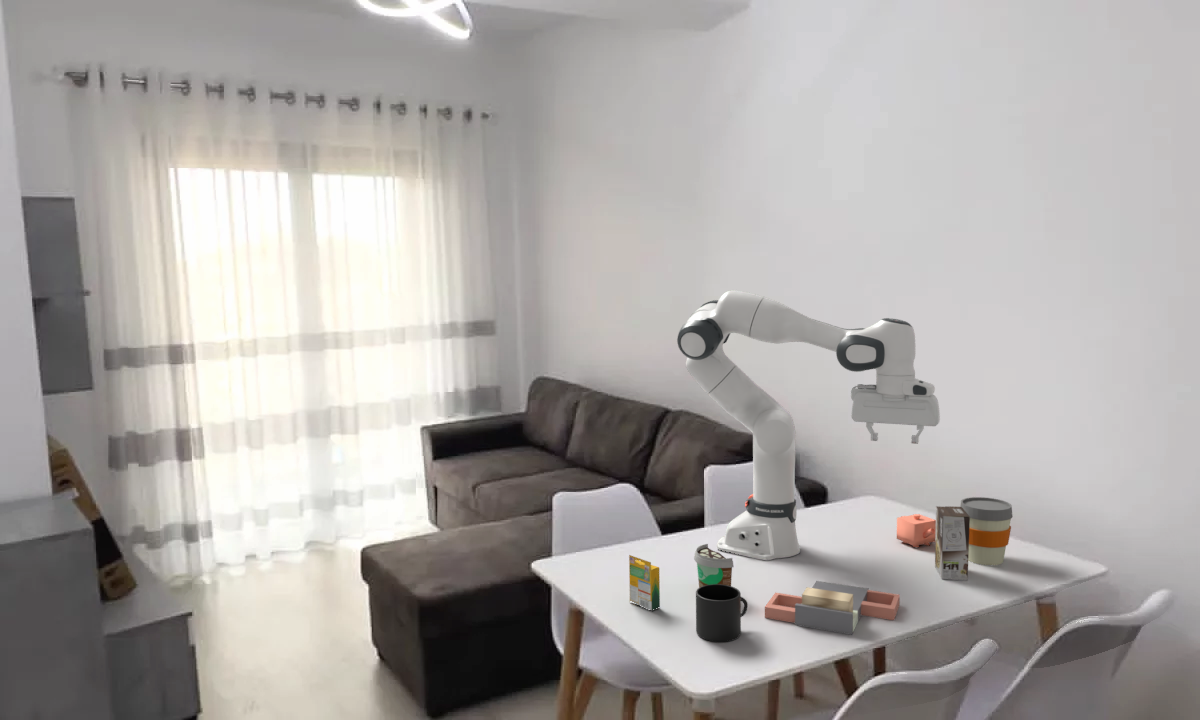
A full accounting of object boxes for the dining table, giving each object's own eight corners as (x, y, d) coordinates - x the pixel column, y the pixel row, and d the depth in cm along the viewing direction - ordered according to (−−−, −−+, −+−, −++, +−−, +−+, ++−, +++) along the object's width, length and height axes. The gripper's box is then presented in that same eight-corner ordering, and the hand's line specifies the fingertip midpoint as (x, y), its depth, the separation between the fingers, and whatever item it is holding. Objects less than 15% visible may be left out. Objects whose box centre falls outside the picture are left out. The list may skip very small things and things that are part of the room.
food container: (684, 586, 206) (684, 546, 205) (706, 582, 208) (706, 543, 207) (711, 604, 195) (710, 562, 193) (733, 599, 197) (733, 558, 196)
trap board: (763, 619, 186) (763, 599, 185) (787, 586, 204) (787, 568, 204) (886, 640, 174) (887, 619, 174) (900, 603, 193) (900, 584, 192)
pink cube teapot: (922, 553, 226) (923, 523, 225) (891, 540, 237) (891, 511, 236) (945, 548, 229) (945, 519, 228) (913, 536, 240) (913, 507, 239)
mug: (759, 635, 178) (759, 594, 177) (710, 646, 173) (710, 604, 172) (735, 618, 187) (735, 579, 186) (688, 628, 182) (687, 588, 181)
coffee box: (968, 581, 205) (970, 516, 204) (940, 579, 207) (942, 515, 205) (960, 567, 214) (962, 506, 212) (934, 566, 216) (935, 505, 214)
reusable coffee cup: (948, 558, 221) (949, 502, 219) (974, 548, 228) (976, 494, 227) (994, 571, 211) (996, 513, 209) (1020, 560, 218) (1022, 504, 217)
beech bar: (801, 612, 183) (802, 594, 183) (806, 604, 187) (806, 587, 187) (849, 619, 179) (849, 601, 178) (852, 612, 183) (853, 594, 182)
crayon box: (660, 608, 193) (660, 559, 192) (651, 612, 191) (650, 562, 190) (638, 599, 198) (637, 551, 197) (629, 602, 197) (628, 554, 195)
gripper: (848, 385, 206) (848, 441, 207) (938, 389, 196) (937, 447, 198) (853, 382, 211) (852, 436, 213) (941, 385, 202) (939, 442, 204)
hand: (894, 441), depth 205 cm, fingers open, 8 cm apart
